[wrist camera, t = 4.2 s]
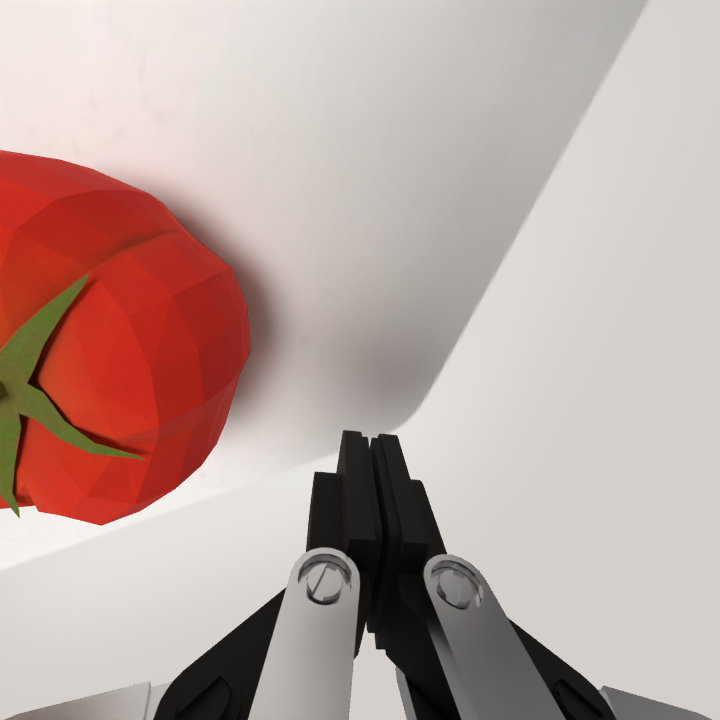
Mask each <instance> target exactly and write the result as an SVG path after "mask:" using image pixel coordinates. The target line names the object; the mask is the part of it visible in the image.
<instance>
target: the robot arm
mask: <svg viewBox="0 0 720 720" xmlns="http://www.w3.org/2000/svg"><path fill="white" fill-rule="evenodd" d="M365 623H366V625H367V631H368V633H375V643H376V649H385V651H386V655H387V657H388V658H389V659H390V660H391V661H392V662H393V663H394V664H395V665H396V669H395V670H396V677H397V683H398V687H399V690H400V695H401V698H402V702H403V706H404V710H405V714H406V718H407V720H712V719H709V718H708V717H705V716H703V715H701V714H699V713H696V712H692V711H689V710H686V709H682V708H679V707H675V706H672V705H668V704H665V703H662V702H658V701H655V700H651V699H648V698H645V697H641V696H637V695H634V694H631V693H627V692H624V691H620V690H617V689H614V688H610V687H607V686H603V687H602V688H601V690H597V689H596V688H595V687H594V686H593V685H592V684H591V683H590V682H589V681H588V680H587V679H586V678H584V677H583V676H582V675H581V674H580V673H578V672H577V671H576V670H574V669H573V668H572V667H570V666H569V665H568V664H567V663H565V662H564V661H563V660H562V659H560V658H559V657H558V656H556V655H555V654H554V653H552V652H551V651H550V650H549V649H547V648H546V647H545V646H543V645H542V644H541V643H539V642H538V641H537V640H536V639H534V638H533V637H532V636H531V635H529V634H528V633H527V632H525V631H524V630H523V629H521V628H520V627H519V626H518V625H516V624H515V623H514V622H512V621H511V620H510V619H509V618H507V616H506V615H505V613H504V611H503V609H502V608H501V606H500V604H499V603H498V601H497V599H496V597H495V595H494V594H493V592H492V590H491V588H490V587H489V585H488V583H487V581H486V580H485V578H484V577H483V576H482V574H481V573H480V572H479V571H478V570H477V569H476V568H475V567H474V566H473V565H472V564H470V563H469V562H467V561H465V560H464V559H462V558H460V557H457V556H454V555H447V552H446V550H445V547H444V544H443V541H442V538H441V535H440V532H439V529H438V526H437V523H436V521H435V518H434V514H433V512H432V509H431V506H430V503H429V500H428V497H427V494H426V491H425V488H424V486H423V484H422V482H421V481H420V480H411V479H410V476H409V473H408V469H407V466H406V463H405V459H404V456H403V453H402V449H401V446H400V443H399V439H398V437H397V435H389V434H379V435H378V438H372V440H371V444H370V449H369V442H368V437H362V433H361V432H358V431H347V430H344V431H343V434H342V440H341V447H340V453H339V459H338V465H337V472H336V473H326V472H315V474H314V480H313V488H312V495H311V504H310V514H309V523H308V535H307V545H306V553H305V554H303V555H302V556H301V557H300V558H299V559H298V560H297V561H296V562H295V565H294V567H293V569H292V571H291V574H290V577H289V581H288V584H287V587H286V588H285V589H283V590H282V591H281V592H280V593H278V594H277V595H276V596H275V597H274V598H272V599H271V600H270V601H269V602H267V603H266V604H265V605H264V606H262V607H261V608H260V609H259V610H258V611H256V612H255V613H254V614H253V615H252V616H250V617H249V618H248V619H246V620H245V621H244V622H243V623H242V624H240V625H239V626H238V627H237V628H235V629H234V630H233V631H232V632H230V633H229V634H228V635H227V636H226V637H224V638H223V639H222V640H221V641H219V642H218V643H217V644H216V645H215V646H213V647H212V648H211V649H210V650H208V651H207V652H206V653H205V654H203V655H202V656H201V657H200V658H198V659H197V660H196V661H195V662H194V663H192V664H191V665H190V666H189V667H187V668H186V669H185V670H184V671H183V672H182V673H181V674H180V675H179V676H178V677H177V678H176V679H175V680H174V681H173V682H170V683H165V684H161V685H157V686H154V687H151V685H150V681H149V682H145V683H141V684H137V685H133V686H129V687H125V688H121V689H117V690H113V691H109V692H105V693H101V694H97V695H93V696H89V697H85V698H81V699H77V700H73V701H69V702H64V703H61V704H56V705H52V706H48V707H44V708H40V709H36V710H32V711H28V712H24V713H20V714H17V715H15V716H13V717H10V718H8V719H5V720H349V709H350V697H351V686H352V673H353V661H354V659H355V658H356V656H357V655H358V653H359V648H360V644H361V640H362V636H363V632H364V628H365Z"/></svg>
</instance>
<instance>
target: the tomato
mask: <svg viewBox="0 0 720 720" xmlns="http://www.w3.org/2000/svg"><path fill="white" fill-rule="evenodd" d="M249 354H250V333H249V322H248V312H247V304H246V301H245V299H244V297H243V294H242V292H241V290H240V287H239V285H238V283H237V280H236V278H235V276H234V273H233V271H232V268H231V267H230V266H229V265H227V264H226V263H225V262H224V261H222V260H221V259H220V258H219V257H217V256H216V255H215V254H214V253H212V252H211V251H210V250H209V249H207V248H206V247H205V246H204V245H202V244H201V243H200V242H199V241H197V240H196V239H195V238H194V237H192V236H191V235H190V233H189V232H188V231H187V230H186V229H185V228H184V227H183V226H182V225H181V223H180V222H179V221H178V220H177V219H176V218H175V217H174V216H173V214H172V213H171V212H170V211H169V210H168V209H167V208H166V207H165V206H164V204H163V203H162V202H160V201H159V200H157V199H156V198H155V197H153V196H152V195H150V194H148V193H146V192H143V191H141V190H139V189H136V188H134V187H132V186H130V185H127V184H125V183H123V182H120V181H118V180H116V179H114V178H111V177H109V176H107V175H104V174H102V173H100V172H98V171H95V170H93V169H90V168H87V167H83V166H80V165H77V164H73V163H70V162H66V161H63V160H59V159H53V158H46V157H40V156H34V155H28V154H22V153H15V152H9V151H3V150H0V509H4V508H11V509H12V510H13V511H14V512H15V513H16V515H17V516H18V517H19V518H20V516H19V508H18V507H25V506H34V505H35V506H36V508H37V510H38V511H39V512H44V513H50V514H55V515H61V516H65V517H69V518H73V519H77V520H81V521H85V522H89V523H93V524H97V525H101V526H102V525H104V524H107V523H110V522H112V521H115V520H118V519H120V518H123V517H126V516H128V515H131V514H134V513H136V512H139V511H141V510H143V509H144V508H146V507H147V506H149V505H151V504H152V503H154V502H155V501H157V500H158V499H160V498H162V497H163V496H165V495H166V494H168V493H169V492H171V491H172V490H174V489H176V488H177V487H178V486H179V485H180V484H181V483H182V482H183V481H185V480H186V479H187V478H188V477H189V476H190V475H191V474H192V473H194V472H195V471H196V470H197V469H198V468H199V467H200V466H201V465H202V464H203V462H204V461H205V460H206V458H207V457H208V455H209V454H210V452H211V451H212V450H213V448H214V447H215V445H216V444H217V442H218V439H219V437H220V435H221V432H222V430H223V427H224V425H225V423H226V419H227V416H228V412H229V409H230V405H231V402H232V399H233V395H234V392H235V388H236V385H237V381H238V378H239V375H240V372H241V370H242V368H243V366H244V364H245V362H246V360H247V358H248V356H249Z"/></svg>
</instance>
